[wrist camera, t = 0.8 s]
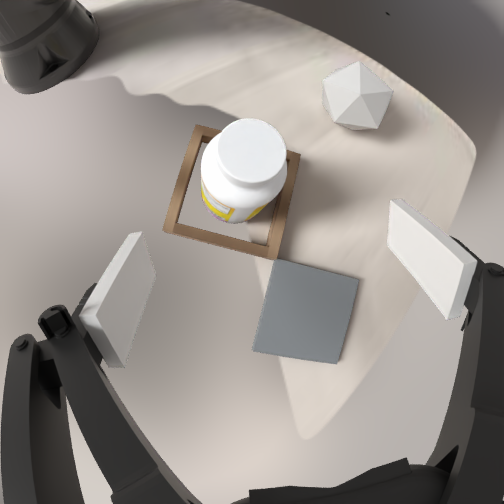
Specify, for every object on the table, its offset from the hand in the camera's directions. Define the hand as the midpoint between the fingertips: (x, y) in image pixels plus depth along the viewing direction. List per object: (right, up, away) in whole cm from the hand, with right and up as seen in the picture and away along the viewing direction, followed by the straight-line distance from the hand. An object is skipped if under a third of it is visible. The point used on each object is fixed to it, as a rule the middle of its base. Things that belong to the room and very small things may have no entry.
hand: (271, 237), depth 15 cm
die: (+11, +17, +19) cm, 28 cm away
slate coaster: (+5, -7, +17) cm, 19 cm away
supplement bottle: (-3, +5, +16) cm, 18 cm away
